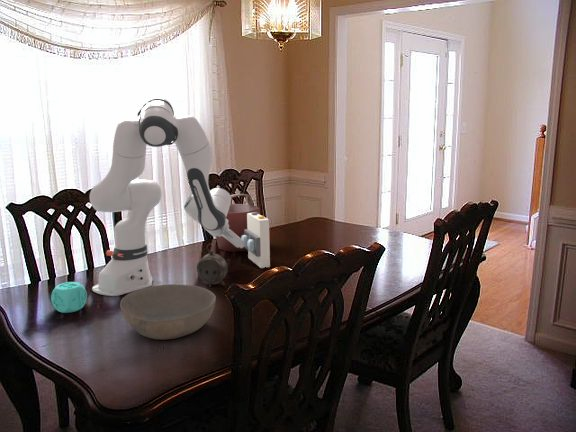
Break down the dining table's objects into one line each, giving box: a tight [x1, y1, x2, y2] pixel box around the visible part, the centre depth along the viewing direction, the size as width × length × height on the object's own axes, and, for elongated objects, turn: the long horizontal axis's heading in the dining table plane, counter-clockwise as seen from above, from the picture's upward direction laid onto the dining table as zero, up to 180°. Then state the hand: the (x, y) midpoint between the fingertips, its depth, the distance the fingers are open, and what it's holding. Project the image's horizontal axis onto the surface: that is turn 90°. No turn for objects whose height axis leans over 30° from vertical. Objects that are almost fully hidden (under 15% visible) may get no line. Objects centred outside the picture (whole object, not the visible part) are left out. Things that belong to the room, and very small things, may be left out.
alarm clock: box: [196, 243, 229, 288], centre depth 193 cm, size 11×5×16 cm, turn 74°
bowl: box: [119, 283, 217, 341], centre depth 156 cm, size 28×28×10 cm
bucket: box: [215, 193, 261, 253], centre depth 245 cm, size 24×22×25 cm
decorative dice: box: [50, 281, 88, 314], centre depth 174 cm, size 8×8×8 cm
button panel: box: [244, 212, 271, 269], centre depth 220 cm, size 6×16×21 cm, turn 23°
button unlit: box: [241, 235, 249, 247], centre depth 223 cm, size 2×5×5 cm, turn 23°
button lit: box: [247, 239, 255, 252], centre depth 215 cm, size 2×5×5 cm, turn 23°
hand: (242, 246), depth 213 cm, fingers closed
